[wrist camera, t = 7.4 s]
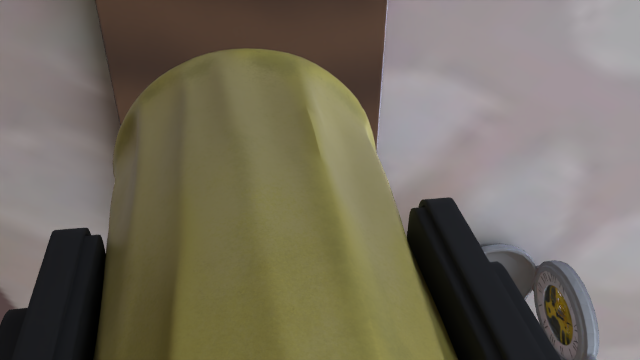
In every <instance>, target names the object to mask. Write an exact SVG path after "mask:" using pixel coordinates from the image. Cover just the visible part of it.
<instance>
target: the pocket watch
mask: <svg viewBox="0 0 640 360" xmlns="http://www.w3.org/2000/svg"><path fill="white" fill-rule="evenodd" d="M481 248H482V250H483V251H484V253H485V255H486V256H487V258H488V260H489V262H495V261H498V262H499V263H501V264H502V265H503V266H504V267H505V268H506V270H507V271H508V273H509V275H510V276H511V278H512V280H513V281H514V283H515V285H516V286H517V288H518V289H519V291H520V293H521V294H522V296H523V298H524V299H526V298H527V297H528V295H529V294H530V292H531V291H532V290H533V291H534V302H535V307H536V312H537V316H538V320H539V323H540V326H541V327H542V329H543V331H544V332H545V334H546V335H547V337H548V339H549V340H550V342H551V344H552V345H553V347H554V349H555V350H556V352H557V353H558V355H559V357H560V358H561V360H597V359H596V357H597V354H598V349H599V330H598V323H597V318H596V314H595V310H594V307H593V304H592V301H591V298H590V296H589V294H588V292H587V290H586V287H585V285H584V284H583V282H582V280H581V279H580V277H579V276H578V274H577V273H576V272H575V271H574V269H573V268H571V267H570V266H569V265H568V264H566V263H564V262H562V261H555V260H554V261H547V262H543V263H542V264H541V265H540V266H535V264H534V262H533V260H532V258H531V257H530V256H529V255H528V254H527V253H526V252H525V251H524V250H522V249H520V248H518V247H516V246H511V245H506V244H495V245H489V246H482V247H481ZM558 291H559V293H560V294H561V296H562V297H561V296H560V295H559V293H558ZM558 298H559V301H558ZM559 305H561V306H560V307H561V309H560V307H559ZM564 310H565V311H564ZM562 311H563V312H562ZM568 329H569V330H568Z"/></svg>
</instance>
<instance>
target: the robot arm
mask: <svg viewBox="0 0 640 360" xmlns="http://www.w3.org/2000/svg"><path fill="white" fill-rule="evenodd" d="M407 242H408V244H409V246H410V248H411V250H412V252H413V254H414V257H415V259H416V261H417V264H418V266H419V268H420V271H421V273H422V275H423V278H424V280H425V282H426V284H427V287H428V289H429V291H430V293H431V296H432V298H433V300H434V302H435V305H436V307H437V309H438V312H439V314H440V316H441V319H442V321H443V324H444V326H445V328H446V331H447V333H448V336H449V338H450V341H451V343H452V346H453V348H454V351H455V353H456V355H457V358H458V360H561V358H560V357H559V355H558V353H557V352H556V350H555V349H554V347H553V345H552V344H551V342H550V340H549V339H548V337H547V335H546V334H545V332H544V331H543V329H542V327H541V326H540V324H539V322H538V321H537V319H536V317H535V316H534V314H533V312H532V311H531V309H530V308H529V306H528V304H527V303H526V301H525V299H524V298H523V296H522V294H521V293H520V291H519V289H518V288H517V286H516V285H515V283H514V281H513V280H512V278H511V276H510V275H509V273H508V271H507V270H506V268H505V267H504V266H503V265H502V264H501V263H499V262H498V261H495V262H489V260H488V258H487V256H486V255H485V253H484V251H483V250H482V248H481V246H480V244H479V243H478V241H477V239H476V238H475V236H474V234H473V232H472V231H471V229H470V227H469V226H468V224H467V222H466V221H465V219H464V217H463V215H462V214H461V212H460V210H459V209H458V207H457V205H456V203H455V202H454V200H453V199H452V198H438V199H426V200H422V201H421V202H420V204H419V208H412V209H411V211H410V215H409V223H408V231H407ZM105 259H106V253H105V248H104V244H103V240H102V237H101V235H91V234H90V231H89V229H88V228H76V229H64V230H54V231H53V232H52V234H51V236H50V240H49V243H48V246H47V249H46V252H45V255H44V258H43V262H42V265H41V268H40V271H39V274H38V277H37V280H36V284H35V287H34V290H33V293H32V296H31V299H30V302H29V306H28V308H23V309H13V310H9V311H8V312H7V313H6V314H5V316H4V318H3V320H2V322H1V325H0V360H93V357H94V351H95V346H96V339H97V332H98V325H99V317H100V310H101V301H102V291H103V281H104V270H105Z"/></svg>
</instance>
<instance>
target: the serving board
mask: <svg viewBox="0 0 640 360" xmlns="http://www.w3.org/2000/svg"><path fill="white" fill-rule="evenodd" d="M95 2H96V7H97V12H98V17H99V22H100V27H101V32H102V37H103V42H104V47H105V52H106V57H107V62H108V67H109V72H110V77H111V82H112V86H113V91H114V96H115V101H116V106H117V111H118V116H119V121H120V126H121V125H122V123H123V120H124V118H125V116H126V114H127V113H128V111H129V109H130V108H131V106H132V105H133V103H134V102H135V101H136V99H137V98H138V97H139V95H140V94H141V93H142V92H143V91H144V90H145V89H146V88H147V87H148V86H149V85H150V84H151V83H152V82H154V81H155V80H156V79H157V78H158V77H160V76H161V75H163V74H164V73H166V72H167V71H169V70H170V69H172V68H174V67H176V66H178V65H180V64H182V63H184V62H186V61H188V60H190V59H192V58H194V57H198V56H201V55H204V54H207V53H212V52H216V51H221V50H229V49H244V48H248V49H266V50H275V51H280V52H286V53H290V54H293V55H296V56H299V57H302V58H304V59H306V60H309V61H311V62H313V63H315V64H317V65H318V66H320V67H321V68H323V69H325V70H326V71H328V72H329V73H330V74H332V75H333V76H334V77H336V78H337V79H338V80H339V81H341V82H342V83H343V84H344V85H345V86H346V87H347V88H348V89H349V90H350V91H351V92H352V94H353V95H354V96H355V97H356V98H357V99H358V101H359V103H360V105H361V106H362V108H363V109H364V111H365V113H366V115H367V118H368V120H369V123H370V127H371V129H372V133H373V137H374V141H375V148H376V154H377V145H378V131H379V118H380V104H381V90H382V77H383V63H384V50H385V36H386V22H387V9H388V0H95Z"/></svg>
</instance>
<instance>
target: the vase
mask: <svg viewBox="0 0 640 360" xmlns="http://www.w3.org/2000/svg"><path fill="white" fill-rule="evenodd" d="M113 172H114V177H115V184H114V188H113V193H112V200H111V208H110V218H109V231H108V238H107V248H106V259H105V270H104V281H103V291H102V301H101V310H100V317H99V325H98V332H97V339H96V346H95V351H94V357H93V360H458V358H457V355H456V353H455V351H454V348H453V346H452V343H451V341H450V338H449V336H448V333H447V331H446V328H445V326H444V324H443V321H442V319H441V316H440V314H439V312H438V309H437V307H436V305H435V302H434V300H433V298H432V296H431V293H430V291H429V289H428V287H427V284H426V282H425V280H424V278H423V275H422V273H421V271H420V268H419V266H418V264H417V261H416V259H415V257H414V254H413V252H412V250H411V248H410V246H409V244H408V242H407V237H406V235H405V232H404V228H403V225H402V222H401V219H400V215H399V212H398V209H397V206H396V203H395V200H394V197H393V194H392V191H391V188H390V186H389V183H388V180H387V177H386V175H385V172H384V170H383V167H382V165H381V163H380V160H379V158H378V156H377V154H376V148H375V141H374V137H373V133H372V129H371V127H370V123H369V120H368V118H367V115H366V113H365V111H364V109H363V108H362V106H361V105H360V103H359V101H358V99H357V98H356V97H355V96H354V95H353V94H352V92H351V91H350V90H349V89H348V88H347V87H346V86H345V85H344V84H343V83H342V82H341V81H339V80H338V79H337V78H336V77H334V76H333V75H332V74H330V73H329V72H328V71H326V70H325V69H323V68H321V67H320V66H318V65H317V64H315V63H313V62H311V61H309V60H306V59H304V58H302V57H299V56H296V55H293V54H290V53H286V52H280V51H275V50H266V49H248V48H244V49H229V50H221V51H216V52H212V53H207V54H204V55H201V56H198V57H194V58H192V59H190V60H188V61H186V62H184V63H182V64H180V65H178V66H176V67H174V68H172V69H170V70H169V71H167V72H166V73H164V74H163V75H161V76H160V77H158V78H157V79H156V80H155V81H154V82H152V83H151V84H150V85H149V86H148V87H147V88H146V89H145V90H144V91H143V92H142V93H141V94H140V95H139V97H138V98H137V99H136V101H135V102H134V103H133V105H132V106H131V108H130V109H129V111H128V113H127V114H126V116H125V118H124V120H123V123H122V125H121V127H120V130H119V133H118V135H117V138H116V143H115V148H114V154H113Z"/></svg>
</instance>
